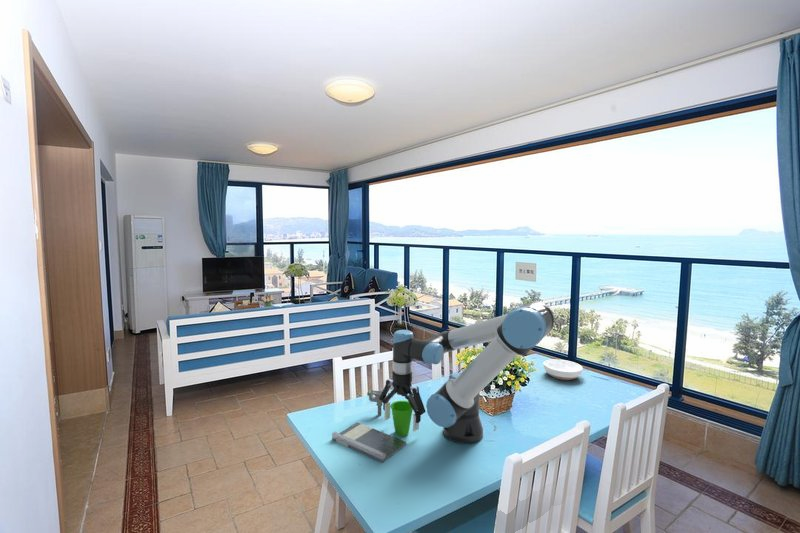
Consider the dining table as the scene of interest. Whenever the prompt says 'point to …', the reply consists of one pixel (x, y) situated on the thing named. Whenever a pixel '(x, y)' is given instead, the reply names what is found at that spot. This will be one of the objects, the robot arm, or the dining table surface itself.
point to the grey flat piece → (369, 441)
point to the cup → (401, 417)
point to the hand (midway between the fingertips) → (401, 424)
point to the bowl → (562, 369)
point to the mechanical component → (376, 399)
